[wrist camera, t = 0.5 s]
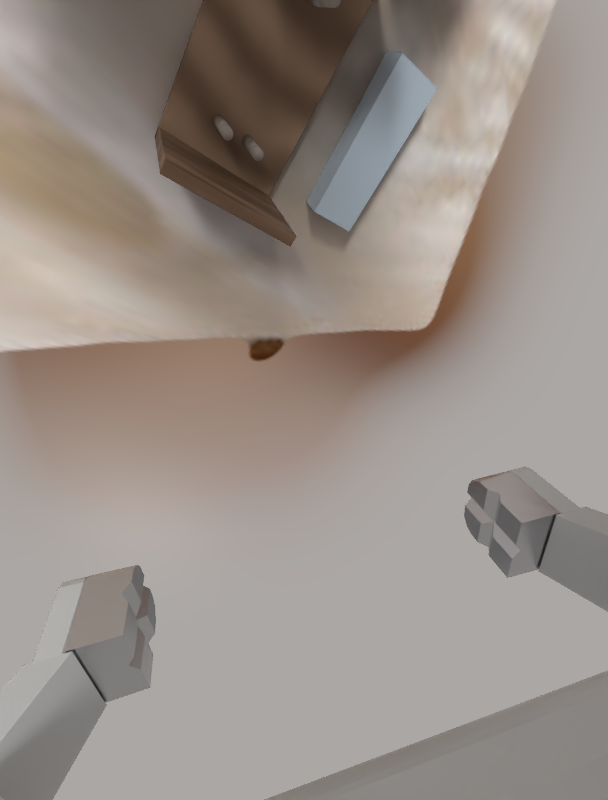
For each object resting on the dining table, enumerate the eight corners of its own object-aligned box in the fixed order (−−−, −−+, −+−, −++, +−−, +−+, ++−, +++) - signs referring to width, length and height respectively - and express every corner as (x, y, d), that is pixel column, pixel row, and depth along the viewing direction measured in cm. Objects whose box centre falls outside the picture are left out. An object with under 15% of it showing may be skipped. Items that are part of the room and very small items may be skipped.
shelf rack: (261, -162, 32) (313, -229, 23) (377, -19, 40) (452, -24, 31) (154, 136, 43) (160, 173, 34) (262, 201, 51) (290, 246, 42)
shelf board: (386, 49, 44) (402, 52, 42) (420, 83, 48) (437, 88, 45) (305, 201, 53) (314, 211, 51) (339, 220, 57) (349, 231, 54)
